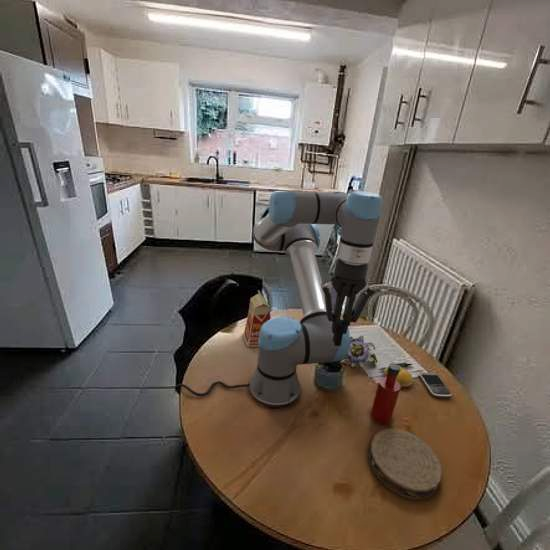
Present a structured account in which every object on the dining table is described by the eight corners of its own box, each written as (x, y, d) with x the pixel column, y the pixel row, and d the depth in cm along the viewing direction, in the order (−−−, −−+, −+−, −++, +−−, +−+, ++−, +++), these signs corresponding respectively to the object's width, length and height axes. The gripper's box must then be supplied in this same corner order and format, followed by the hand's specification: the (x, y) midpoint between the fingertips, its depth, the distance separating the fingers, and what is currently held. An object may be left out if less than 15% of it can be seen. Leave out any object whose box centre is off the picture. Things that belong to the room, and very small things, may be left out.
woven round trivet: (411, 433, 84) (414, 424, 83) (454, 492, 70) (458, 483, 69) (357, 440, 81) (360, 432, 79) (391, 505, 66) (394, 496, 65)
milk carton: (243, 334, 121) (245, 288, 114) (265, 332, 124) (269, 287, 116) (248, 348, 113) (251, 300, 106) (272, 345, 116) (276, 298, 109)
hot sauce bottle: (374, 424, 86) (388, 373, 79) (367, 408, 91) (380, 359, 84) (394, 424, 86) (409, 374, 79) (386, 409, 91) (400, 360, 85)
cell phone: (432, 398, 97) (433, 395, 96) (417, 374, 107) (418, 371, 107) (451, 399, 97) (453, 395, 97) (434, 375, 107) (435, 372, 107)
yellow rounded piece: (404, 392, 99) (407, 382, 97) (379, 376, 105) (382, 366, 103) (416, 381, 104) (419, 371, 102) (392, 367, 110) (394, 357, 108)
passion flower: (350, 378, 111) (334, 353, 107) (355, 356, 119) (340, 333, 116) (380, 373, 104) (364, 347, 101) (383, 351, 113) (368, 326, 110)
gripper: (328, 264, 69) (314, 350, 78) (385, 267, 70) (364, 352, 79) (322, 252, 76) (310, 333, 85) (374, 256, 76) (356, 335, 86)
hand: (336, 342), depth 82 cm, fingers closed
